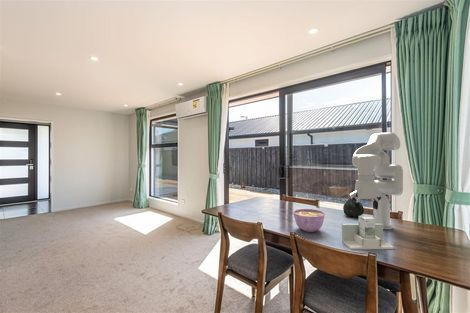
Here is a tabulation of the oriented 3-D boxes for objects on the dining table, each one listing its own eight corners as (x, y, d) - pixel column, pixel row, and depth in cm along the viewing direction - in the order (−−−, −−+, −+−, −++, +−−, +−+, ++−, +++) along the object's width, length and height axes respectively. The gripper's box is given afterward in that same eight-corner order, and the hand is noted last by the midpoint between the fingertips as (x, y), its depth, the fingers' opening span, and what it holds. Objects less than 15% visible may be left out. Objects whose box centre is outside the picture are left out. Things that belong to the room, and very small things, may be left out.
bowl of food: (297, 223, 161) (296, 207, 161) (326, 227, 152) (326, 210, 152) (290, 232, 143) (289, 214, 143) (323, 237, 134) (323, 218, 134)
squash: (367, 208, 178) (353, 193, 183) (367, 213, 165) (352, 197, 170) (353, 218, 184) (339, 203, 189) (352, 224, 171) (337, 208, 176)
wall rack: (342, 241, 128) (341, 224, 127) (381, 241, 127) (381, 223, 127) (351, 249, 117) (350, 230, 117) (394, 249, 116) (393, 230, 116)
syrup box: (368, 240, 125) (368, 215, 125) (375, 245, 119) (375, 218, 119) (358, 241, 125) (358, 215, 125) (364, 245, 119) (364, 218, 119)
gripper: (377, 176, 125) (378, 206, 126) (346, 177, 126) (347, 207, 126) (386, 178, 118) (386, 210, 118) (352, 179, 118) (353, 211, 119)
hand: (366, 209), depth 122 cm, fingers open, 9 cm apart
